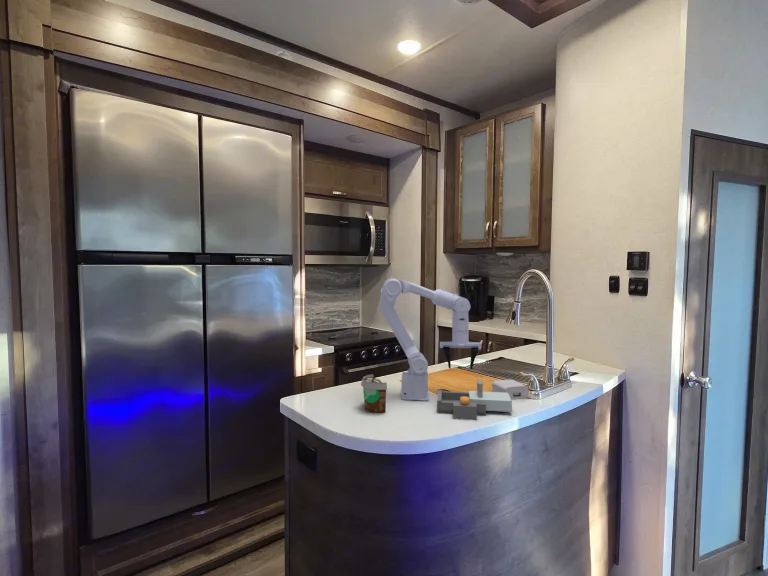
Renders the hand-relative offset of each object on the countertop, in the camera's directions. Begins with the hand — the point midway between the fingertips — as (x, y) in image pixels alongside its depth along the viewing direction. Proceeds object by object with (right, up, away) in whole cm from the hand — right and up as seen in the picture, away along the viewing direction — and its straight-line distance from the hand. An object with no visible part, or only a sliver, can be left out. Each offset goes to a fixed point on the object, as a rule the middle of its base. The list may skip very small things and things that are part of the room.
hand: (460, 368), depth 141 cm
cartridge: (+7, -10, -13) cm, 18 cm away
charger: (+18, -11, +5) cm, 21 cm away
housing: (-2, -11, -13) cm, 17 cm away
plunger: (-3, -7, -20) cm, 21 cm away
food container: (-32, -11, -12) cm, 36 cm away
